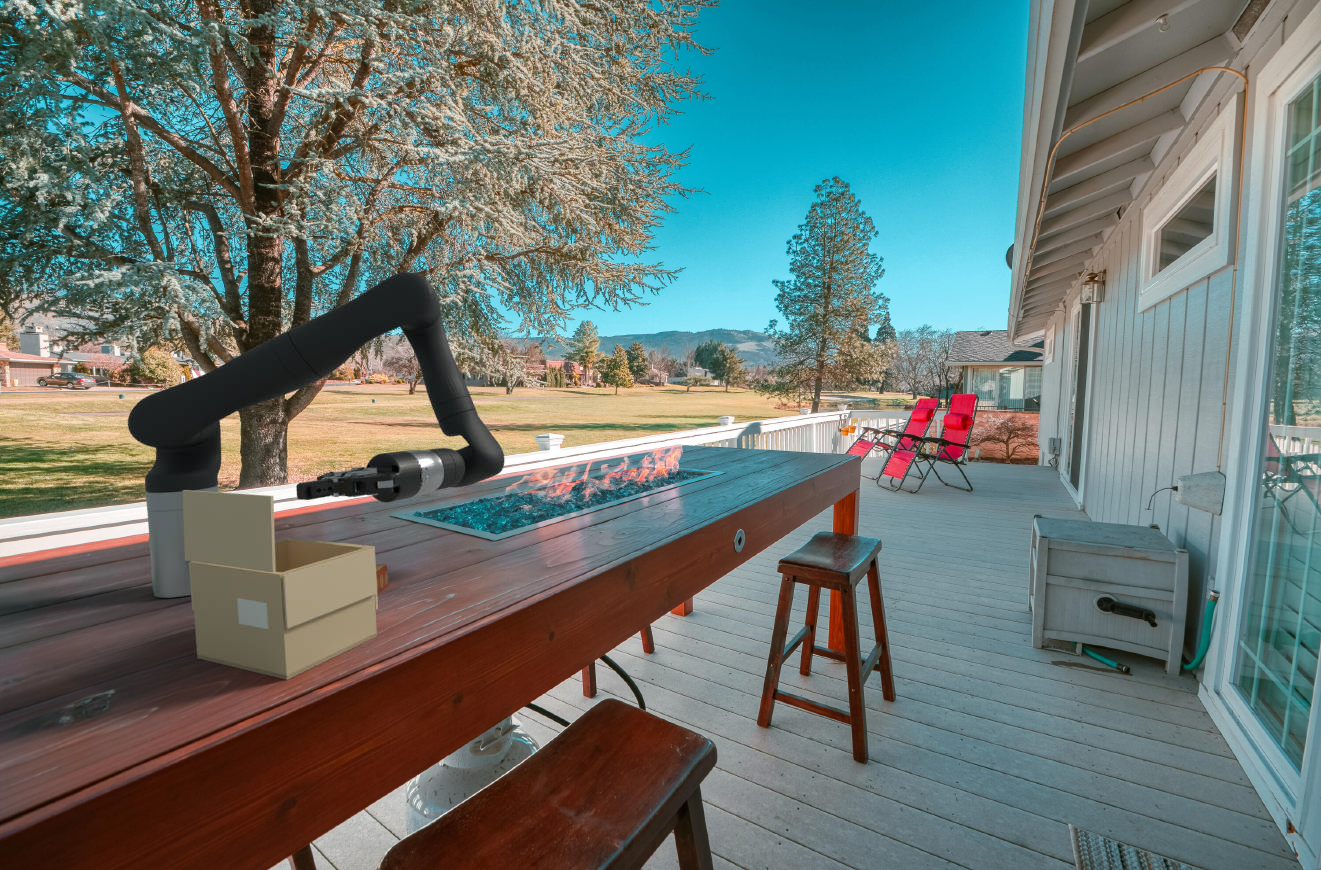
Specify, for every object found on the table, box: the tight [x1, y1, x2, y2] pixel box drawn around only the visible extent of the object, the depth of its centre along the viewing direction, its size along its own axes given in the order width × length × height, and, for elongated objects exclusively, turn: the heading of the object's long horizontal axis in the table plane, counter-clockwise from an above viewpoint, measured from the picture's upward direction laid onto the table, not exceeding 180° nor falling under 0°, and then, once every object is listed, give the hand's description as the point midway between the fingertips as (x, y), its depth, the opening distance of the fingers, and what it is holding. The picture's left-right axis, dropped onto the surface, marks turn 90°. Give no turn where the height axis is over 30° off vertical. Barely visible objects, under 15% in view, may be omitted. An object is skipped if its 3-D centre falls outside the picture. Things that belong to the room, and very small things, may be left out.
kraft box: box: [189, 537, 379, 681], centre depth 70 cm, size 17×13×12 cm
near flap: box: [183, 490, 276, 573], centre depth 64 cm, size 16×8×1 cm
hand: (300, 491), depth 72 cm, fingers closed
